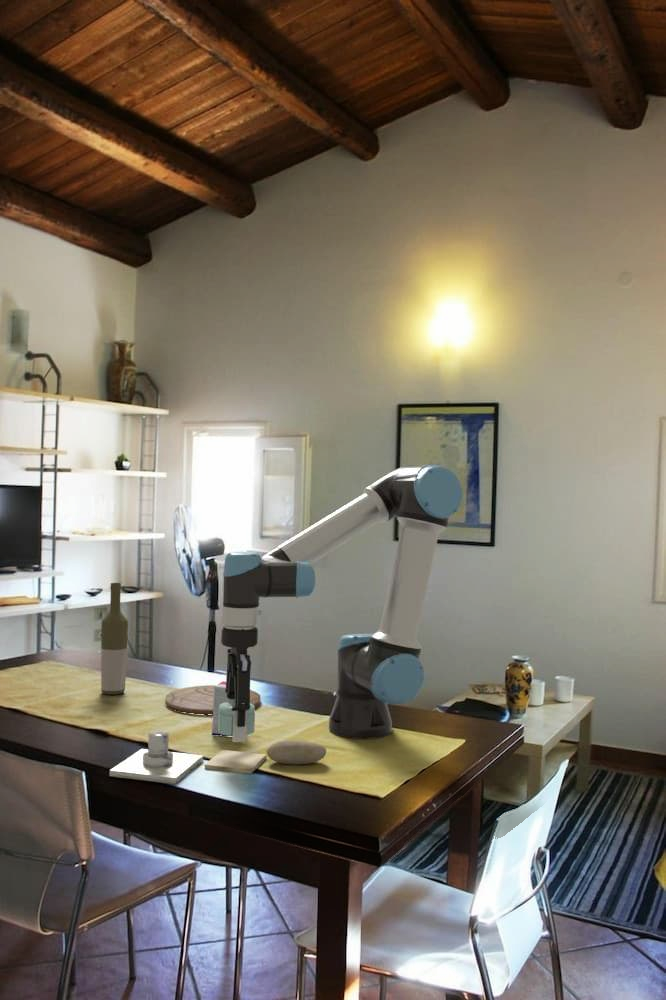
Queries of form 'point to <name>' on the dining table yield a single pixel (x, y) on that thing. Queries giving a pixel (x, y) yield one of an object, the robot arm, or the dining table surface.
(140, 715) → the dining table surface
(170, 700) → the trivet
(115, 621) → the bottle
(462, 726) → the dining table surface
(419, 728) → the dining table surface
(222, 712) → the cap
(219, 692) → the supplement box
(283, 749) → the stone
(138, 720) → the dining table surface
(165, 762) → the post
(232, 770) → the coaster
